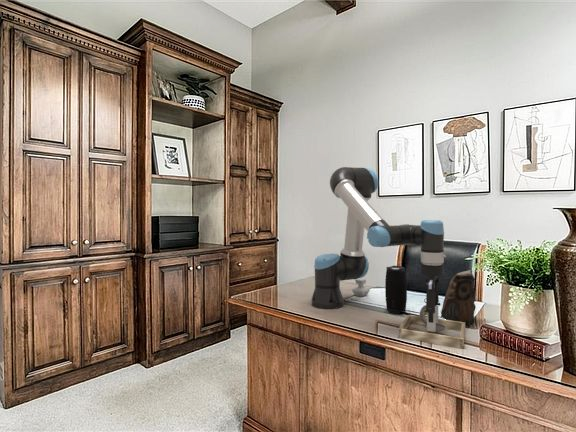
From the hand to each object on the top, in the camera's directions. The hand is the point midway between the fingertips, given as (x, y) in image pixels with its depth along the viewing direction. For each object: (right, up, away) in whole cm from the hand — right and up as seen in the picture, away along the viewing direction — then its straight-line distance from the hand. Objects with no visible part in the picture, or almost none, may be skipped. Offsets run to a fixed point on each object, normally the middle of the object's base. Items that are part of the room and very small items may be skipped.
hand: (432, 327), depth 120 cm
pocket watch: (0, 0, 0) cm, 0 cm away
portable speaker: (-5, -2, +26) cm, 27 cm away
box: (0, -3, 0) cm, 3 cm away
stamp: (-14, -2, +55) cm, 56 cm away
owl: (+16, -2, +14) cm, 22 cm away
